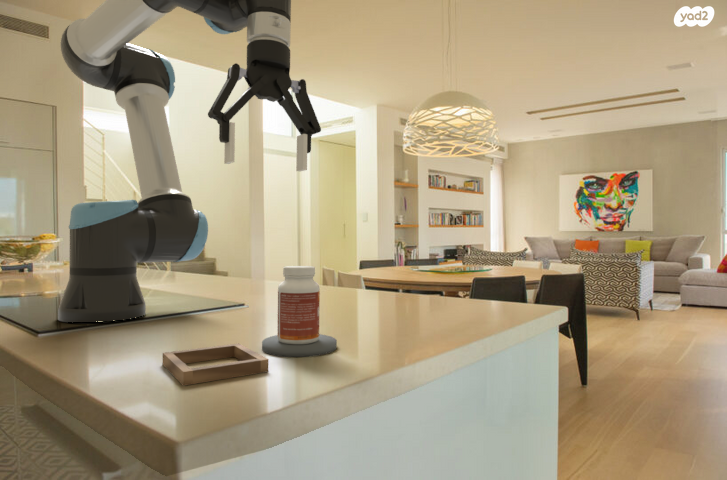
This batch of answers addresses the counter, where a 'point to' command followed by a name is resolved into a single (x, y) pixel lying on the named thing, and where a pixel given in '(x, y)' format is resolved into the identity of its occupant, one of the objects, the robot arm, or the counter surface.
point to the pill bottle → (298, 306)
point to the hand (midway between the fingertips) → (267, 167)
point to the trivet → (299, 347)
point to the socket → (187, 376)
